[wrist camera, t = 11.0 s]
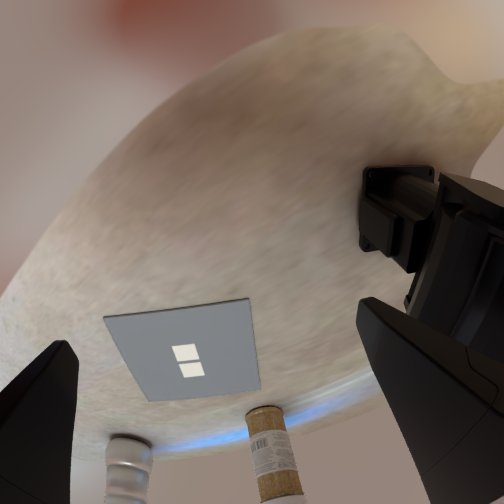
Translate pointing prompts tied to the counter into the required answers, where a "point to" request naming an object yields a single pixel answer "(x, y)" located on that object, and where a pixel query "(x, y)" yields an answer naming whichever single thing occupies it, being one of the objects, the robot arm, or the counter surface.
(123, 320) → the mat
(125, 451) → the plastic bottle
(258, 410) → the sprinkles bottle
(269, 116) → the counter surface
